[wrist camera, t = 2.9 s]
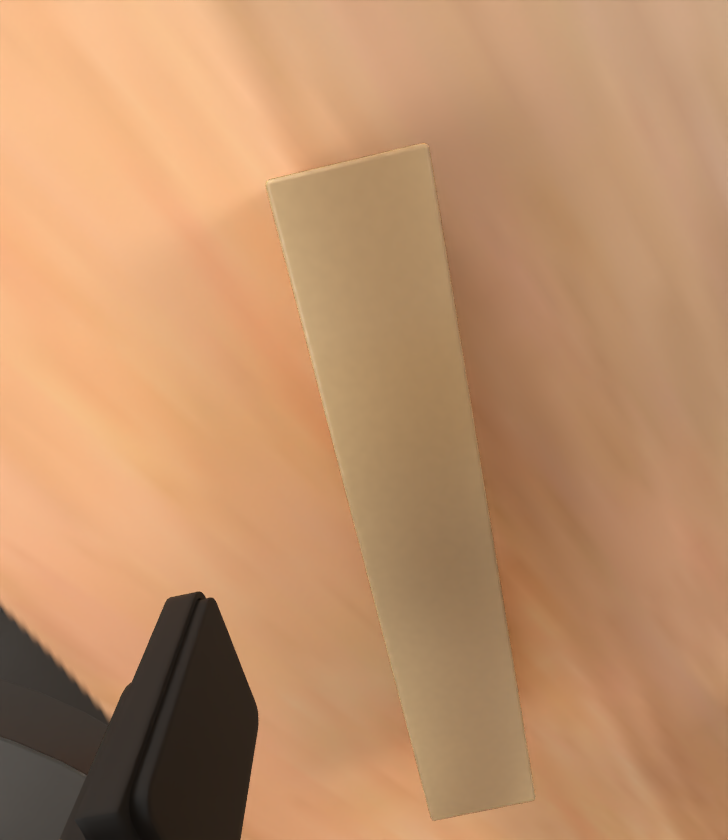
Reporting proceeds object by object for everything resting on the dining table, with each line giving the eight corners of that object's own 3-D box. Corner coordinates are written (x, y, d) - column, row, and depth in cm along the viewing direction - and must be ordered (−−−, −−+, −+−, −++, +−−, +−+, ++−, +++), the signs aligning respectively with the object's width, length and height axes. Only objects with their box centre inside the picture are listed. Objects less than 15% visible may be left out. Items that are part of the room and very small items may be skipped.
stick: (416, 727, 18) (431, 822, 16) (278, 182, 13) (263, 180, 10) (505, 708, 18) (536, 802, 16) (407, 152, 13) (429, 141, 10)
